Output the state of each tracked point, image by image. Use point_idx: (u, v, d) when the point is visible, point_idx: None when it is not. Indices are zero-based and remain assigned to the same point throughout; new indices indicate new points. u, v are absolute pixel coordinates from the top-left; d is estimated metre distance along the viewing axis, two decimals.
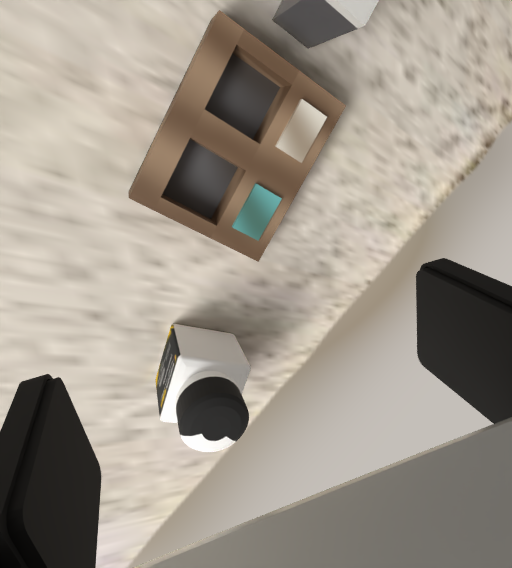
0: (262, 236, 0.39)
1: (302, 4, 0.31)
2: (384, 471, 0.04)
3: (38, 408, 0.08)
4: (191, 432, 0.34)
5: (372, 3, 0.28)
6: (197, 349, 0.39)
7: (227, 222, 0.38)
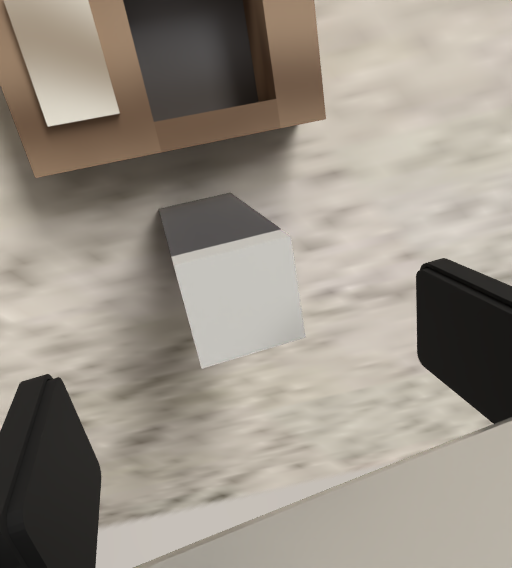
0: None
1: (253, 216, 0.17)
2: (384, 471, 0.04)
3: (38, 408, 0.08)
4: None
5: (192, 301, 0.14)
6: None
7: None
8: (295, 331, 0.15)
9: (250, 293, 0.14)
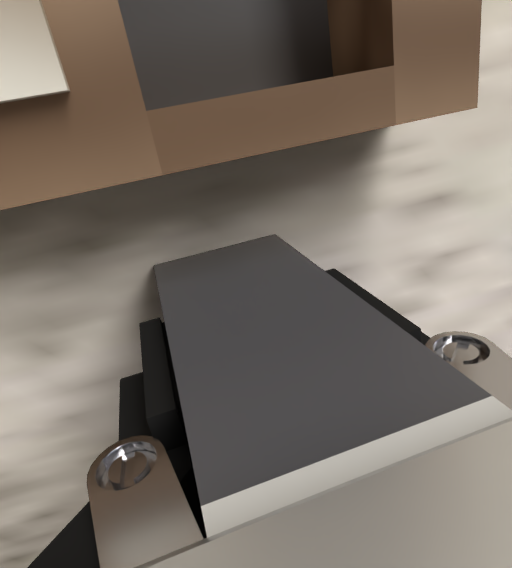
0: None
1: (365, 317, 0.08)
2: (384, 471, 0.04)
3: (165, 340, 0.09)
4: None
5: None
6: None
7: None
8: None
9: None
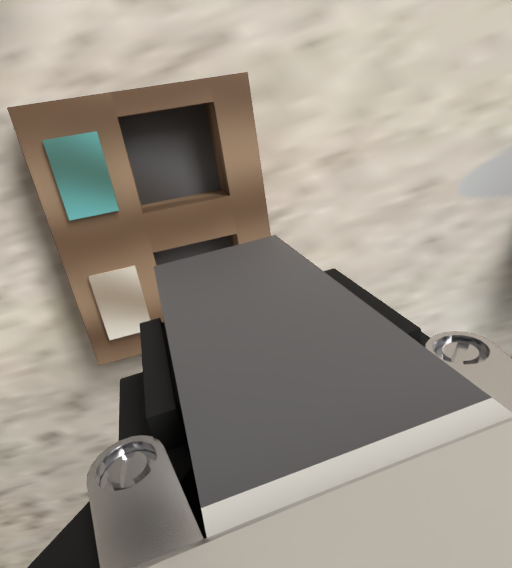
0: (40, 150, 0.23)
1: (365, 318, 0.08)
2: (384, 471, 0.04)
3: (165, 339, 0.09)
4: None
5: None
6: None
7: (107, 132, 0.23)
8: None
9: None
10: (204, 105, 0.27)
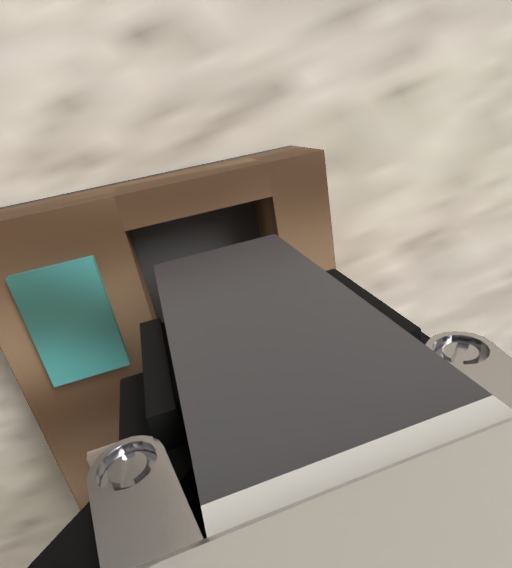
0: (4, 291, 0.14)
1: (365, 317, 0.08)
2: (384, 471, 0.04)
3: (165, 339, 0.09)
4: None
5: None
6: None
7: (109, 255, 0.15)
8: None
9: None
10: None
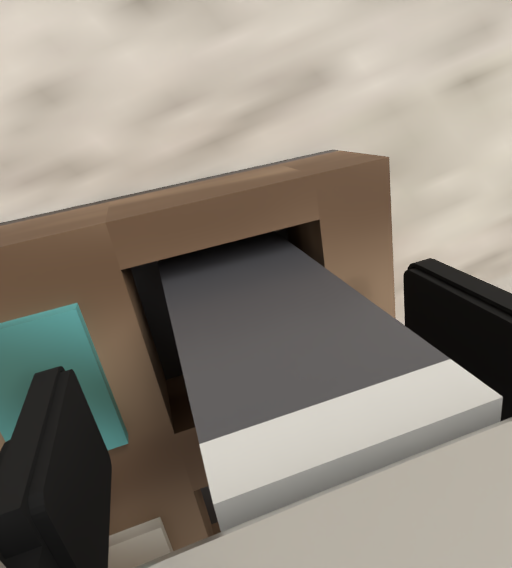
0: None
1: (348, 298, 0.09)
2: (384, 471, 0.04)
3: (53, 398, 0.08)
4: None
5: None
6: None
7: (99, 302, 0.11)
8: None
9: None
10: None
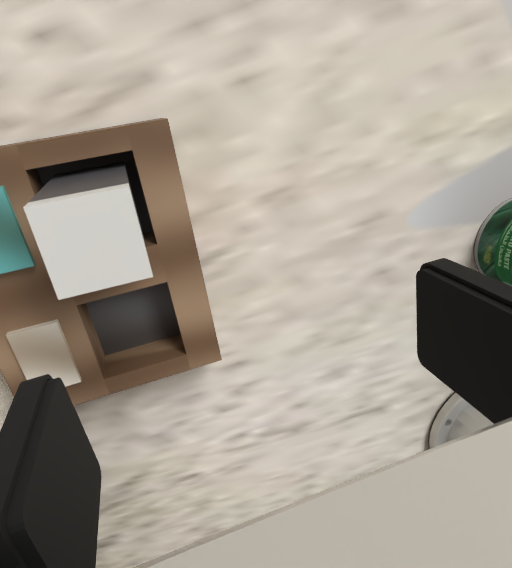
0: None
1: (119, 176, 0.20)
2: (384, 471, 0.04)
3: (38, 408, 0.08)
4: None
5: (44, 239, 0.17)
6: None
7: (15, 186, 0.22)
8: (142, 271, 0.18)
9: (97, 235, 0.17)
10: None
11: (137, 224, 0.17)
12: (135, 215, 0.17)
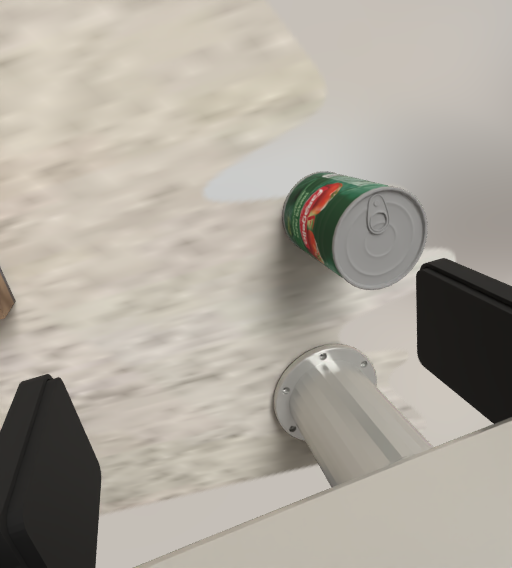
0: None
1: None
2: (384, 471, 0.04)
3: (38, 408, 0.08)
4: None
5: None
6: None
7: None
8: None
9: None
10: None
11: None
12: None
